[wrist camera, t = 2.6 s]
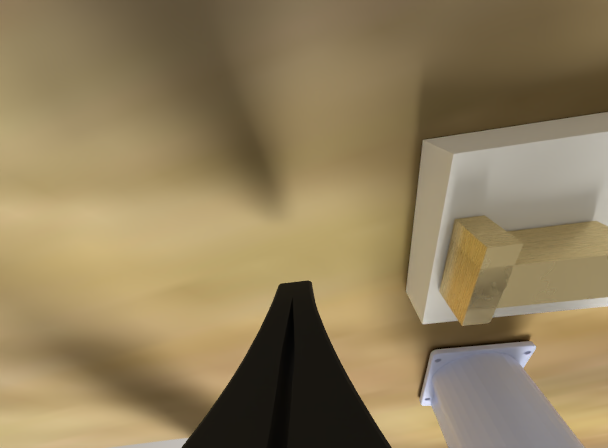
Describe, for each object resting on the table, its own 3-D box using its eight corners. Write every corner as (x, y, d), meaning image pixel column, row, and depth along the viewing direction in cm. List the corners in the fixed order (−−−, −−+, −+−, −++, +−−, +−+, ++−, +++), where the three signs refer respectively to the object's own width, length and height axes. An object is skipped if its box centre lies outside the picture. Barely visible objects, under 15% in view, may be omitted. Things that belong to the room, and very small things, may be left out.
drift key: (562, 278, 12) (607, 312, 10) (439, 291, 12) (461, 325, 10) (608, 199, 9) (676, 225, 8) (454, 219, 10) (487, 247, 8)
